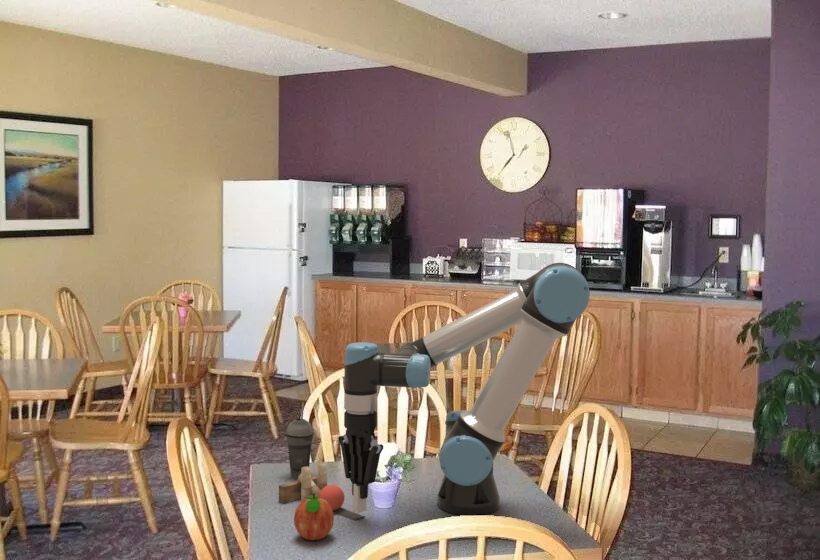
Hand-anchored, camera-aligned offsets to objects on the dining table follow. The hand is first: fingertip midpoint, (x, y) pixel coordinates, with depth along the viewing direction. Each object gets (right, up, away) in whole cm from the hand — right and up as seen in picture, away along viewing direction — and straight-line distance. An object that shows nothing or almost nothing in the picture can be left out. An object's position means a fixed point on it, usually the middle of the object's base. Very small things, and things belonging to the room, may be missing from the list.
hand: (359, 510), depth 208 cm
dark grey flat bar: (-4, -2, +4) cm, 5 cm away
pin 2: (-10, -1, +13) cm, 16 cm away
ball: (-7, +2, +6) cm, 9 cm away
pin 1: (-13, -1, +9) cm, 17 cm away
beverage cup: (-18, +1, +31) cm, 36 cm away
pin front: (-9, 0, +9) cm, 13 cm away
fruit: (-9, -3, -12) cm, 15 cm away
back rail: (-16, 0, +15) cm, 21 cm away
